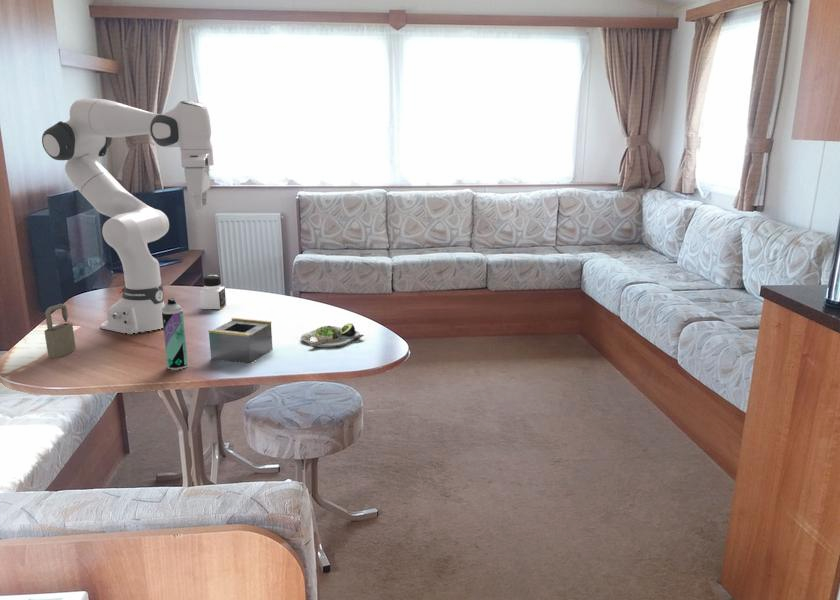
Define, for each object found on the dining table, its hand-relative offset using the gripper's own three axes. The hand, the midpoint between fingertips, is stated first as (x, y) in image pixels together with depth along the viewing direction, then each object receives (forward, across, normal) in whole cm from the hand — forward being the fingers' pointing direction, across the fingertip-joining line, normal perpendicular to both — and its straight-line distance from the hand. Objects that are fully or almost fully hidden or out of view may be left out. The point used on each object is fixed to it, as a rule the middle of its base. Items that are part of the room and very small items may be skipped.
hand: (201, 207), depth 197 cm
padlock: (+43, +1, -44) cm, 61 cm away
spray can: (+43, +18, -8) cm, 47 cm away
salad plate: (+44, +1, +37) cm, 57 cm away
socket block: (+43, +11, +10) cm, 45 cm away
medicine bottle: (+43, -43, -5) cm, 61 cm away
